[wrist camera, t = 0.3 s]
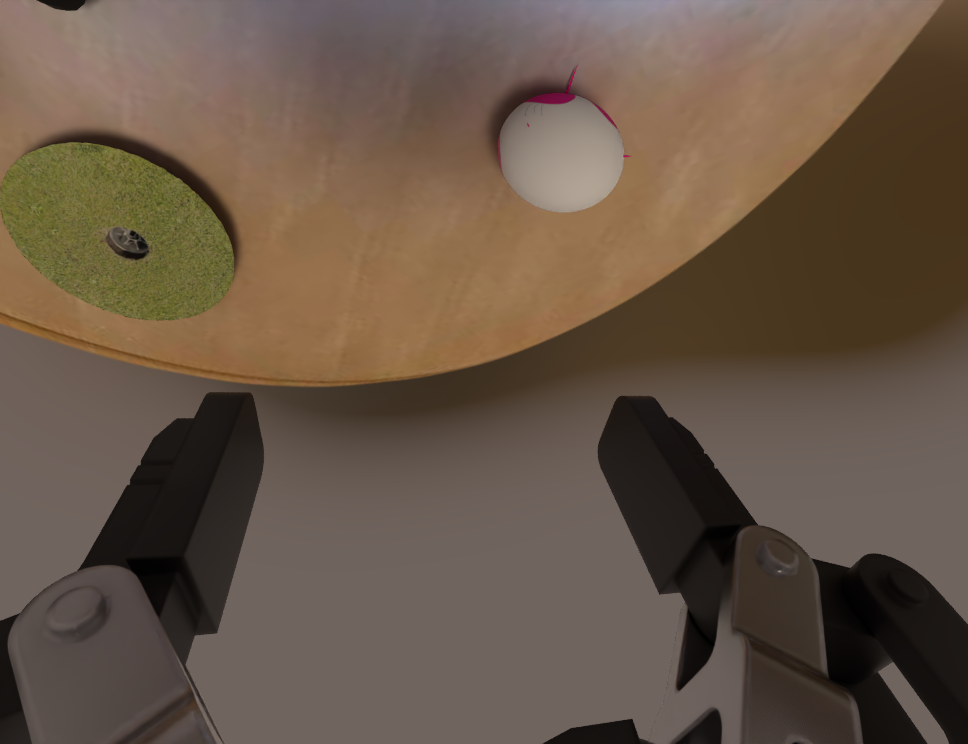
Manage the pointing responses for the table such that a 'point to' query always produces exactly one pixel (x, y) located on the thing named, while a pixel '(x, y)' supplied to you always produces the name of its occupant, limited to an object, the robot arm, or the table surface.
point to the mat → (117, 231)
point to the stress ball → (560, 152)
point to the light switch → (64, 4)
